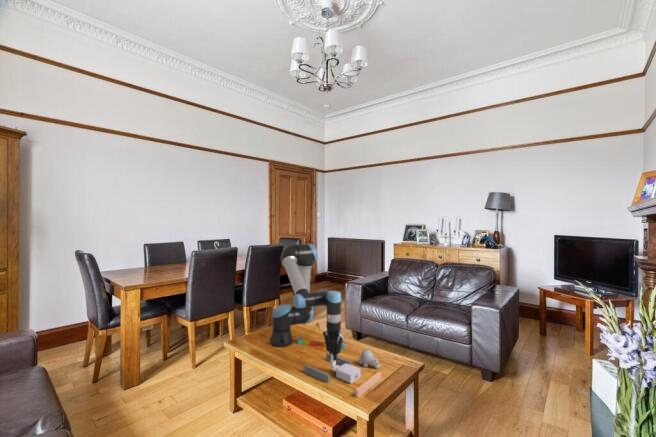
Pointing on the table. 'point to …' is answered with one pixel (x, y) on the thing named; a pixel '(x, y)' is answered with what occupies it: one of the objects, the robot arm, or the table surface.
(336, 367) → the charger
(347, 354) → the table surface
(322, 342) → the chart
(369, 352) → the chubby cartoon animal
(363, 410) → the table surface
